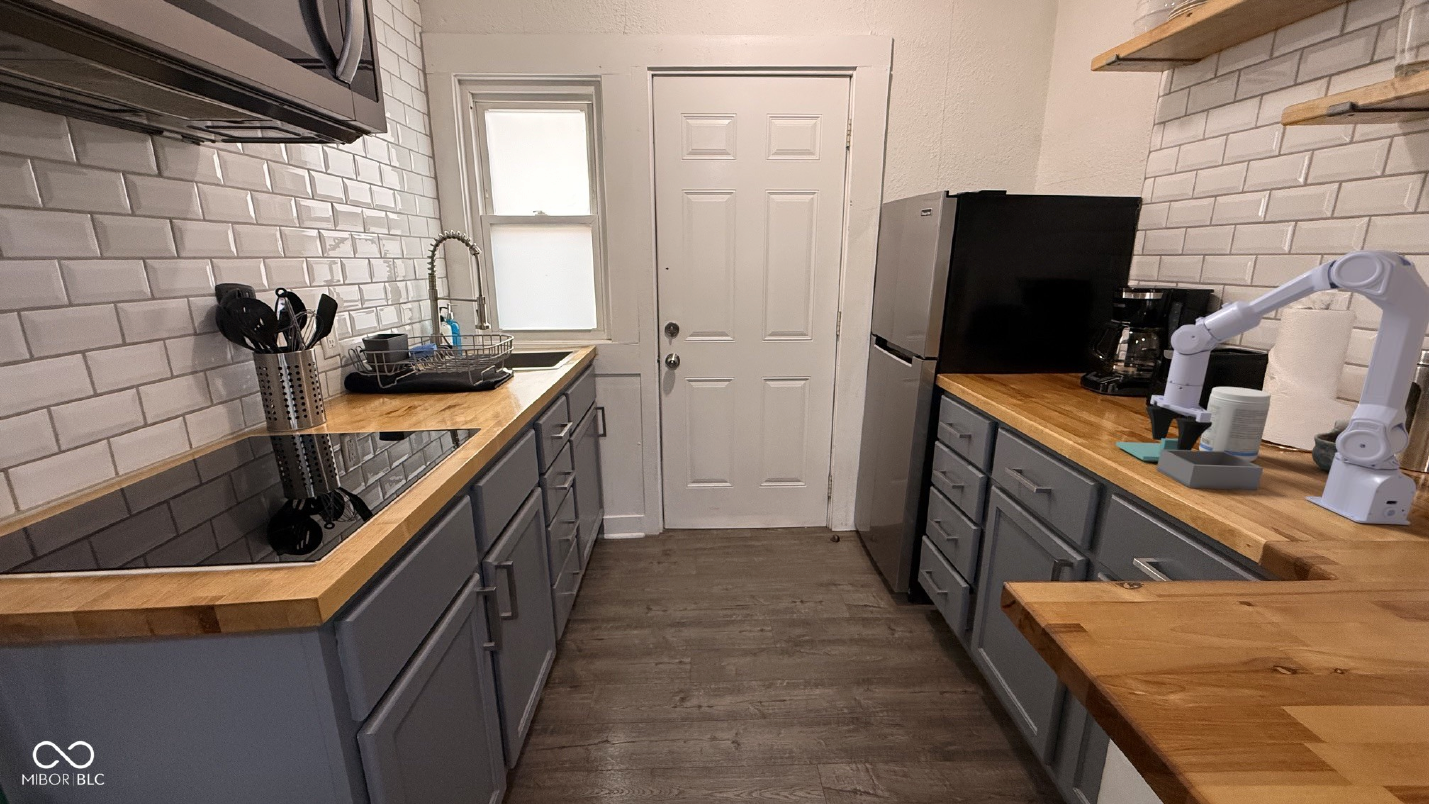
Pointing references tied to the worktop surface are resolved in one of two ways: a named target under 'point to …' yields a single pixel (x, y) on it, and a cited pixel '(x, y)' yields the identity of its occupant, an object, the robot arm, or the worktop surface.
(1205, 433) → the supplement tub
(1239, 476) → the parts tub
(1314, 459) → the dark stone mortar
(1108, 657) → the worktop surface
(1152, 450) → the lid
